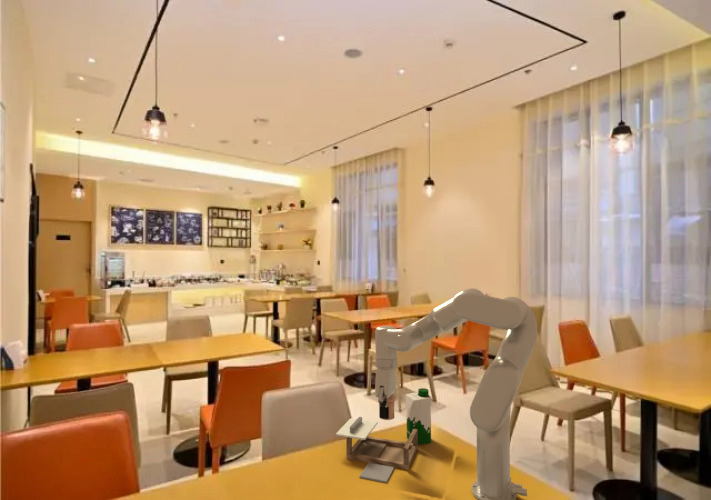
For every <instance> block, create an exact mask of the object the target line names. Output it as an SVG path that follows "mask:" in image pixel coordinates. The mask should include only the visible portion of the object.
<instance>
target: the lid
mask: <svg viewBox="0 0 711 500" xmlns="http://www.w3.org/2000/svg"><path fill="white" fill-rule="evenodd" d="M378 424H379V423H378V421H374V420H369V419H363V417H362V416H359V417H357V418H355V417H353V418H352V417H350V419H348V421H346V423H345V424H343V425H342V426H341V427H340V428H339V430H338V431H337V432H336V433H335V436H339V437H344V438H347V437H349V438H352V439H355V440H358V439H361V440H365V439H366V438H367V437H368V436H369V435H370V434H371V433H372V432H373V430H375V428H376V427H377V425H378Z"/></svg>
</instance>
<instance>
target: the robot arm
mask: <svg viewBox="0 0 711 500" xmlns="http://www.w3.org/2000/svg"><path fill="white" fill-rule="evenodd" d="M468 321H469V322H472V323H477V324H479V325H484V326H488V327H490V328H491V327H492V328H495V329H498V330H505V334H504V337H503V339H502V340H501V344H500V347H499V348H498V351H497V354H496V356H495V357H494V359H493V360H492V362H491V363H490V364H489V365H488V367H487V368H486V369H485V371H484V373H483V375H482V378H481V380H480V382H479V385H478V387H477V388H476V391H475V394H474V397H473V399H472V401H471V404H470V408H469V416H470V420H471V422H472V424H473V425H474V426H475V427H476V480H475V481H474V482H473V483H472V484H471V492H472V494H473V496H474V497H475V498H476V499H477V500H516V499H517V495H520V496H523V497H528V491H527V490H528V489H527V488H524V487H523V485H522V484H520V483H514V482H513V481H512V477H511V453H510V452H511V451H510V450H511V447H510V446H511V443H510V442H511V439H510V438H511V436H510V435H511V431H510V430H511V407H512V404H513V402H514V399H515V397H516V395H517V392H518V390H519V388H520V386H521V384H522V381H523V377H524V373H525V370H526V368H527V365H528V363H529V361H530V358H531V355H532V353H533V351H534V348H535V345H536V342H537V337H538V321H537V318H536V316H535V313H534V311H533V310H532V308H531V307H530V306H529V305H528V304H527V303H526V302H525V301H524V299H523V300H522V299H521V298H519V297H516V296H515V297H514V296H507V297H504V298H500V297H499V298H498V297H494V296H490V295H486V294H484V293H483V292H482V291H481V290H479V289H477V288H468V289H467V288H466V289H464V290H461V291H458V292H457V293H456V294H455V296H453V297H451V298H449V299H448V300H446V301H445V302H442V303H441V304H438V305H437V306H435V307H434V308H432V310H431V311H430V313H428V314H427V315H425V316H424V317H422V318H420V319H418V320H417V321H415V322H413V323H411V324H409V325H407V326H404V327H401V328H399V329H397V328H396V327H395V326H392V325H380V326H378V327H376V328H375V331H374V333H375V339H374V340H375V368H376V371H375V381H374V382H375V384H374V387H375V388H374V396H375V398H377V401H378V409H379V413H378V414H379V419H381V418H383V419H389V407H388V398H389V397H391V396H392V395H394V396H395V393H396V391H397V370H396V369H397V368H398V352H402V353H405V352H406V353H407V352H409V351H412V350H413V349H414V348H417V347H418V346H420V345H422V344H424V343H426V342H427V341H430V340H431V339H433V338H434V337H437V336H439V335H440V334H445V333H448V332H450V331H451V330H454V329H455V328H456V327H459V326H460V325H462V324H464V323H466V322H468ZM384 395H385V396H386V397H383V396H384ZM378 396H379V397H378ZM383 399H386V403H385V401H383ZM383 419H382V420H383Z"/></svg>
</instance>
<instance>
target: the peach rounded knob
mask: <svg viewBox="0 0 711 500" xmlns="http://www.w3.org/2000/svg"><path fill="white" fill-rule="evenodd" d="M378 397H379V396H378ZM378 397H377V398H378ZM383 397H386V396H385V395H384V396H383ZM383 401H385V403H386V399H383ZM395 401H396V396H395V394H394V395H392V396H391V397H389V398H388V407H389V419H383V418H380V420H384V421H391V420H394V419H395Z"/></svg>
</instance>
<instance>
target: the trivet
mask: <svg viewBox="0 0 711 500" xmlns="http://www.w3.org/2000/svg"><path fill="white" fill-rule="evenodd" d="M394 469H395V467H390V466H384V465H379V464H374V463H368V462H367V464H366V466H365V467H364V469H363V471H362V472H361V473H360V475H359V478H360V479H364V480H370V481H375V482H380V483H384V484H387V483H388V481H389V479H390V478H391V476H392V474H393V471H394Z"/></svg>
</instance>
